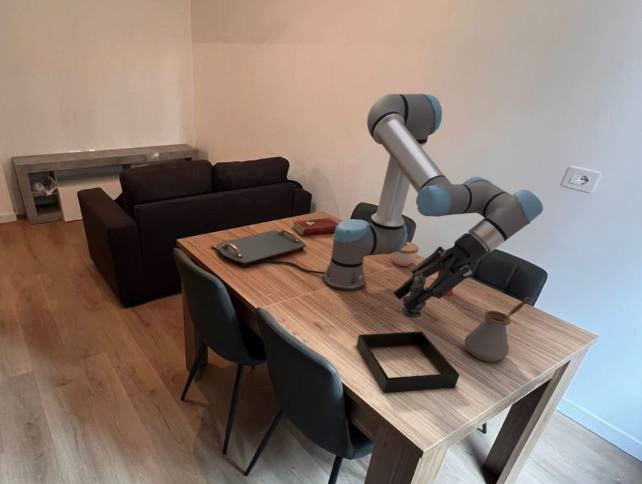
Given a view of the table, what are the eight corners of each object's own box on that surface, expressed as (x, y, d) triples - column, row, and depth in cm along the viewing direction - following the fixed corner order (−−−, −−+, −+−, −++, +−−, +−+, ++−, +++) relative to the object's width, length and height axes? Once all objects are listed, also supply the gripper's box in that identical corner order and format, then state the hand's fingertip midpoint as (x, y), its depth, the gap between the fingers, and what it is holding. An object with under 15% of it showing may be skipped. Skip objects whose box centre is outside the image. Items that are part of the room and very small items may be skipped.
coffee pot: (490, 371, 112) (509, 325, 104) (453, 348, 120) (468, 305, 113) (531, 348, 122) (552, 305, 114) (495, 329, 130) (511, 288, 123)
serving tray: (278, 234, 197) (279, 221, 194) (311, 250, 181) (313, 237, 178) (210, 251, 178) (209, 237, 174) (239, 271, 162) (240, 256, 158)
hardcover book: (340, 232, 201) (342, 224, 199) (302, 237, 195) (303, 228, 193) (329, 224, 211) (330, 216, 209) (292, 228, 205) (293, 220, 203)
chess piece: (422, 309, 112) (433, 270, 105) (422, 320, 107) (434, 280, 101) (400, 305, 113) (409, 266, 107) (399, 315, 108) (409, 276, 102)
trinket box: (384, 257, 176) (388, 237, 172) (407, 257, 177) (412, 237, 172) (393, 268, 167) (398, 247, 162) (418, 268, 168) (424, 247, 163)
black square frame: (383, 393, 103) (386, 380, 101) (356, 347, 120) (358, 334, 118) (454, 387, 106) (459, 374, 104) (418, 343, 123) (421, 330, 120)
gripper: (507, 268, 95) (424, 329, 102) (463, 238, 111) (393, 293, 117) (494, 248, 92) (409, 312, 98) (450, 220, 107) (379, 277, 114)
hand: (401, 302), depth 108 cm, fingers closed on chess piece, 5 cm apart
